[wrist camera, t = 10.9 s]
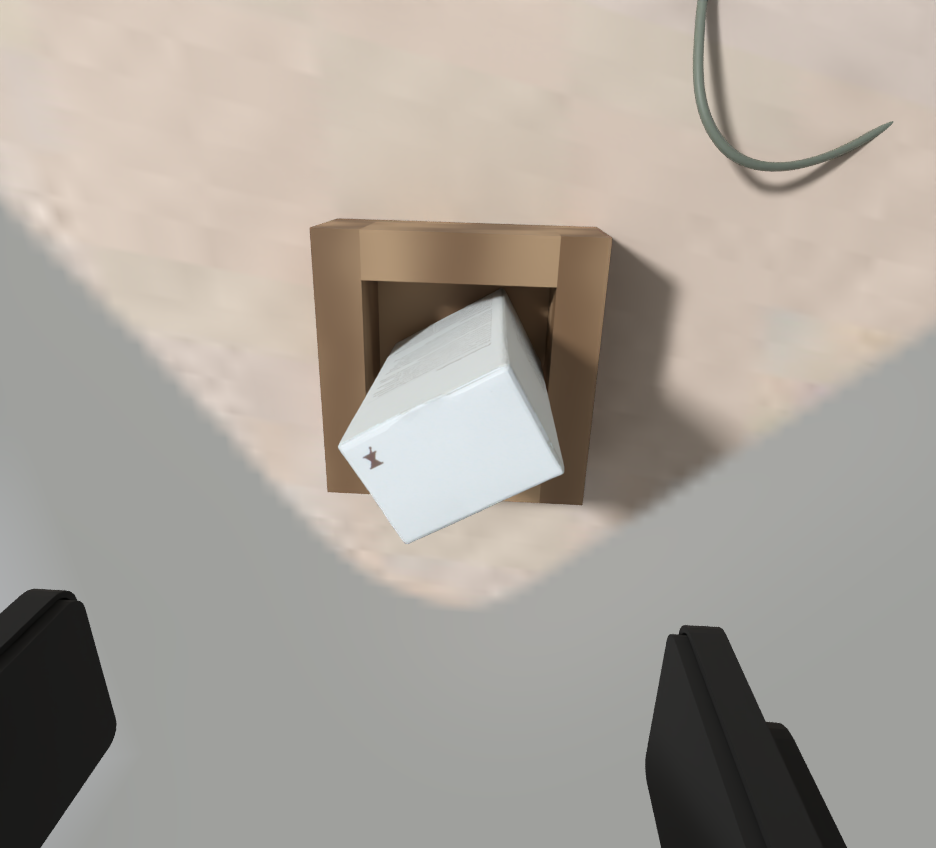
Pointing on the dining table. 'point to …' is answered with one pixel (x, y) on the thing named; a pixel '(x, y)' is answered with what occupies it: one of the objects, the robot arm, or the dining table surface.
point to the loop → (720, 140)
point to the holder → (447, 291)
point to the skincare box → (455, 421)
